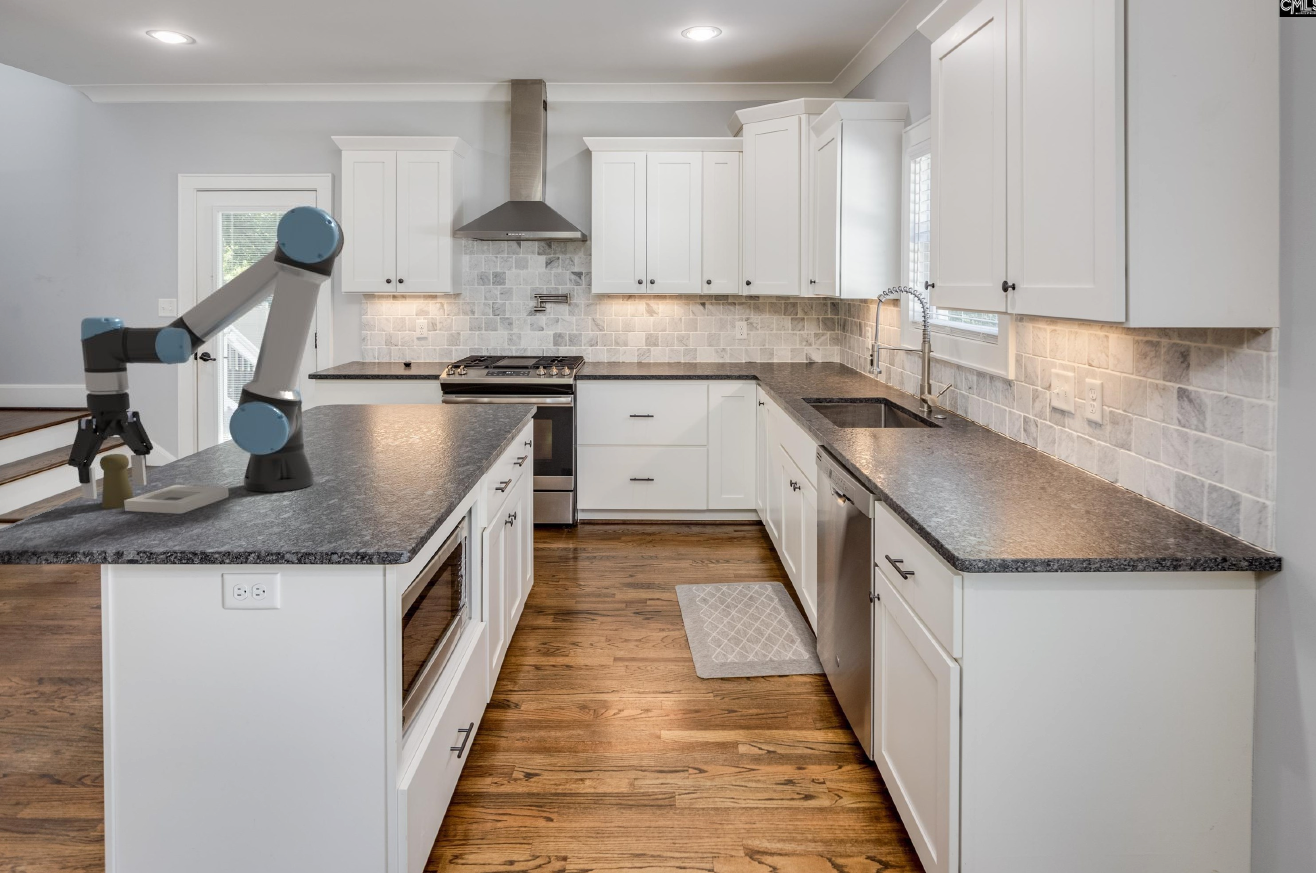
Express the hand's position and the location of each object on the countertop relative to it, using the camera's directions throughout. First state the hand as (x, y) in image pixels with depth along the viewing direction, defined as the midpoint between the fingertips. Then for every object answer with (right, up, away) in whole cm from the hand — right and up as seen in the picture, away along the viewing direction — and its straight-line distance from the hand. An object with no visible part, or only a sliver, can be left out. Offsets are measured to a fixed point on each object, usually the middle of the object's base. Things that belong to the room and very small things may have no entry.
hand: (115, 491), depth 181 cm
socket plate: (+12, -3, +2) cm, 13 cm away
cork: (0, -3, +1) cm, 3 cm away
